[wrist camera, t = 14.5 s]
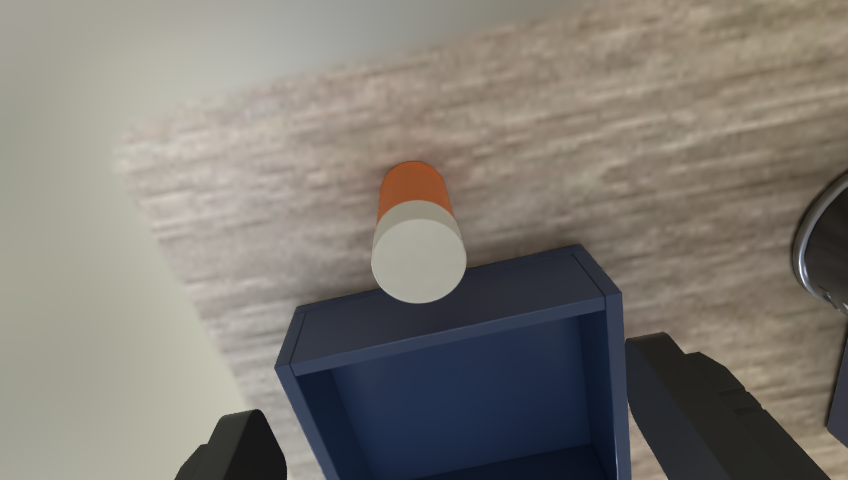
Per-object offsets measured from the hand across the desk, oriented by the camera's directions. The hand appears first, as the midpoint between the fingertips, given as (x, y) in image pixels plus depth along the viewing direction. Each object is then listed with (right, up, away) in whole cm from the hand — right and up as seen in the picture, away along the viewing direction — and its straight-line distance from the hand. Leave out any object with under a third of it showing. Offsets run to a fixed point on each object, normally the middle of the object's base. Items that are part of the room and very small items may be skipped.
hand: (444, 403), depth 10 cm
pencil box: (+2, -5, +19) cm, 20 cm away
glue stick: (-1, +6, +14) cm, 15 cm away
